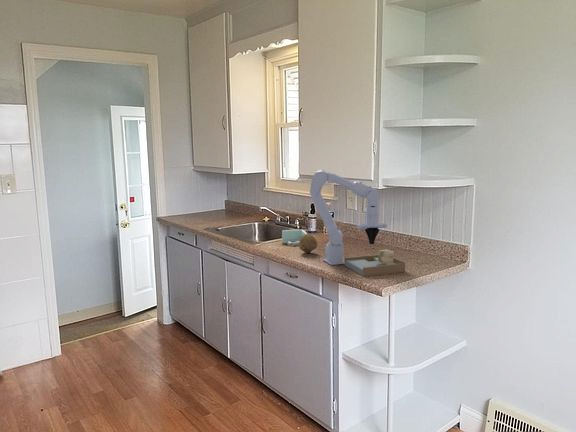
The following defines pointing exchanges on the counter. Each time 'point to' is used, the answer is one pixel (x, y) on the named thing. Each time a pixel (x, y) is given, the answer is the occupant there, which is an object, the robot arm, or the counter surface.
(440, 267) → the counter surface
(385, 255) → the wood block
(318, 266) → the counter surface
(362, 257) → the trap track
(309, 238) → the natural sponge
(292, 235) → the l-shaped corner panel
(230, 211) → the counter surface
